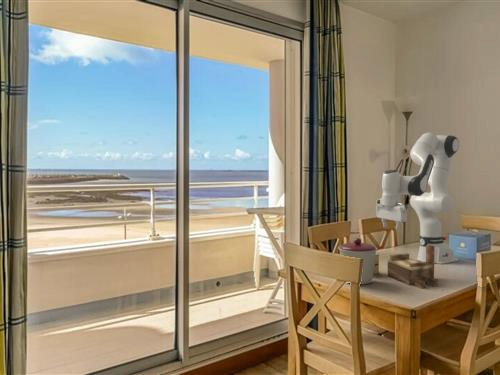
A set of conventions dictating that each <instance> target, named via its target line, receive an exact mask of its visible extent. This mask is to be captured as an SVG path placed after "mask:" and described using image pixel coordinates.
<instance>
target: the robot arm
mask: <svg viewBox="0 0 500 375" xmlns="http://www.w3.org/2000/svg"><path fill="white" fill-rule="evenodd" d="M459 148H460V141H459V139H458V137H456V136H454V135H449V134H448V135H444V134H435V133H433V132H425V133H423V134H422V135H421V136H419V137H418V139H417V140H416V141H415V143H414V144H413V146H412V148H411V150H410V153H409V156H410V158H411V160H412V161H413V163H414V164H416V165H418V166H420V169H419V172H418V173H417V174H416V175H403V174H401V173H400V171H399V170H398V169H387V170H385V171H384V172H383V174H382V178H381V179H382V180H381V188H382V194H381V198H379V199H376V201H375V204H376V207H375V213H376V217H377V218H378V219H381V222H382V224H383V225H382V226H383V228H388V227H389V224H388V222H387V220H389V221H395V224H396V225H395V226H394V230H395V231H400V229H401V228H400V227H401V225H402V223H405V222H407V221H408V212H407V208H406V205H405V204H404V203H402V202H401V195H408V196H410V198H409V203H410V206H411V208H412V209H413V210H414V211H415V213H416V215H417V217H418V219H419V220H418V221H419V237H418V239H419V240H418V241H419V248H418V249H419V250H418V254H417V258H416V261H420V262H426V246H427V245H432V246H435V253H434V264H440V265H443V264H450V263H454V262H457V261H459V258H457V257H456V256H454V255H455V254H454V250H453V248H452V247H450V246H449V245H447V244H446V243H445V242H446V241H448V237H447V236H442V222H441V221H440V220H439V219H438V218H437V217H436V215H435V213H438V214H441V213H449V212H450V211H451V210H452V209H453V207H454V200H453V197H452V196H451V195H450V194H449V192H448V186H447V185H448V180H449V176H450V171H451V165H452V157H453V156H454V155H455V154H456V153H457V151H459ZM428 186H429V187H430V192H427V188H428Z"/></svg>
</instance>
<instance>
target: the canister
mask: <svg viewBox="0 0 500 375" xmlns="http://www.w3.org/2000/svg"><path fill="white" fill-rule="evenodd" d="M337 249H338V250H339V256H340V255H344V256H349V257H355V258H361V259H363V272H362V281H361V285H362V286H363V285H368V284H370V283H371V282H372V281H373V278H374V275H373V273H374V266H375V257H376V254H377V251H378V247H377V246H375V245H373V244H371V243H365V242H362V239H361V238H359V237H356V238H354V239H353V242H346V243H343V244H341V245H339V246H338V248H337ZM361 285H360V286H361Z"/></svg>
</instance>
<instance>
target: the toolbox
mask: <svg viewBox="0 0 500 375" xmlns="http://www.w3.org/2000/svg"><path fill="white" fill-rule="evenodd" d="M387 277H388V278H390V279H393V280H396V281H398V282H401V283H403V284H405V285H407V286H412V285H414V287H416V288H419V289H425V286H426V284H427V285H428V286H432V287H434V288H435V287H438V286H439V285H438V284H439V283H438V282H439V279H437V278H435V277H434V278H431V268H427V269H419V270H409V269H407V268H404V267H401V266H398V265H395V264H392V263H389V262H388V261H387Z"/></svg>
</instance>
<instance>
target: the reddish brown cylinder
mask: <svg viewBox="0 0 500 375" xmlns="http://www.w3.org/2000/svg"><path fill="white" fill-rule="evenodd" d="M434 253H435V246H432V245H427V246H426V262H429V265H432V266H433V268H431V278H434V279H435V263H434Z"/></svg>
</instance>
